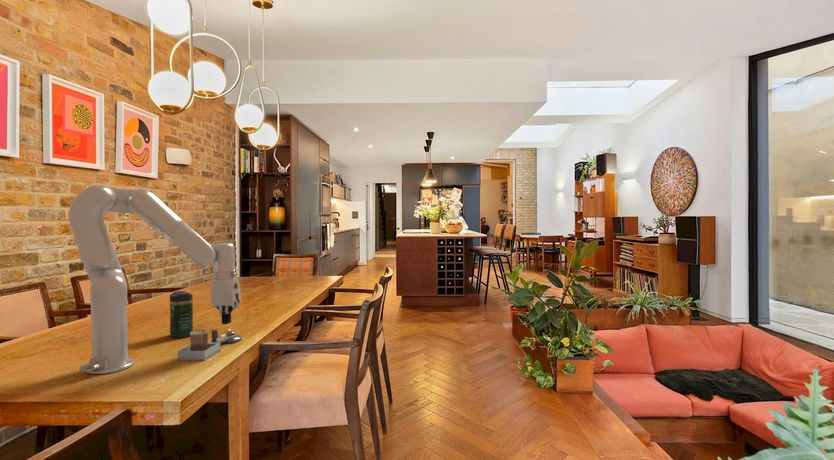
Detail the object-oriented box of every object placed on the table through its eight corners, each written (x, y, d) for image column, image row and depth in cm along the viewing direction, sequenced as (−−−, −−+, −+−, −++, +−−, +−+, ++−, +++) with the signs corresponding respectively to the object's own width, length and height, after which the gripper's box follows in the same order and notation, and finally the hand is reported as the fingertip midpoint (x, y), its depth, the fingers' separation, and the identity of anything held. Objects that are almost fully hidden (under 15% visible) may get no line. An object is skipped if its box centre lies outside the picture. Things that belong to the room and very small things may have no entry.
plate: (235, 337, 171) (235, 336, 171) (222, 339, 169) (222, 338, 169) (233, 334, 176) (233, 333, 176) (220, 336, 173) (220, 335, 173)
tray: (204, 360, 144) (204, 351, 144) (177, 359, 144) (177, 351, 144) (220, 351, 153) (220, 343, 153) (194, 350, 154) (194, 342, 154)
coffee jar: (195, 336, 173) (195, 291, 172) (174, 339, 167) (173, 294, 166) (188, 331, 180) (188, 288, 179) (168, 334, 174) (167, 291, 173)
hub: (235, 343, 162) (235, 340, 162) (215, 343, 163) (215, 340, 163) (245, 337, 170) (245, 334, 170) (226, 337, 171) (226, 334, 171)
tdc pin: (228, 336, 171) (228, 330, 171) (224, 336, 171) (224, 330, 171) (231, 335, 173) (231, 328, 173) (226, 335, 173) (226, 328, 173)
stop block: (201, 355, 147) (201, 332, 146) (190, 354, 147) (190, 332, 147) (208, 351, 151) (207, 329, 150) (197, 351, 151) (197, 329, 151)
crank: (229, 335, 169) (228, 321, 168) (237, 336, 168) (237, 322, 167) (208, 344, 157) (208, 329, 157) (217, 344, 156) (217, 329, 156)
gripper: (248, 274, 158) (249, 321, 159) (214, 273, 162) (216, 319, 163) (235, 277, 151) (236, 327, 152) (200, 276, 155) (202, 325, 156)
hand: (226, 323), depth 157 cm, fingers closed
